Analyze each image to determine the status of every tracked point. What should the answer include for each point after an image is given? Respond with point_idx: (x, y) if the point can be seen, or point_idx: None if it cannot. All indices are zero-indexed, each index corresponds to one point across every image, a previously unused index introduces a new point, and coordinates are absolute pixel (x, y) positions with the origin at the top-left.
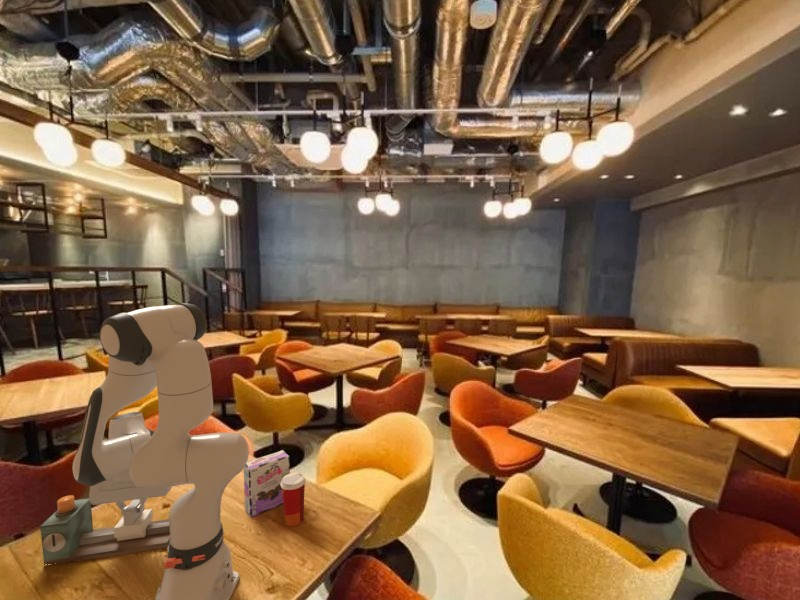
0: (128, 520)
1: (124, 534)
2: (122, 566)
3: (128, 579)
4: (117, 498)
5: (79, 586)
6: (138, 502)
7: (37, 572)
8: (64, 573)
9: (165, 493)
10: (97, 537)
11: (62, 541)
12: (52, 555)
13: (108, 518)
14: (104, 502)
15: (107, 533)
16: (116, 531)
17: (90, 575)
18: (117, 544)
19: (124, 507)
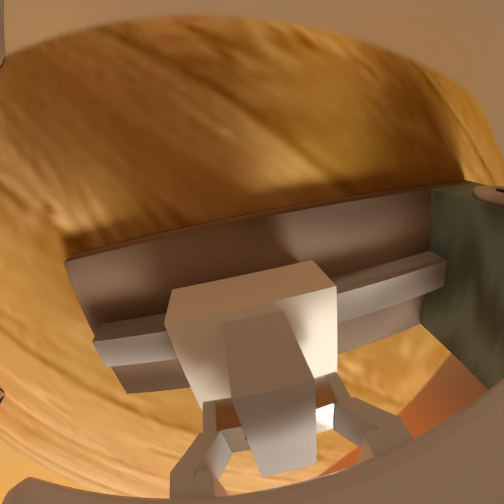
0: (257, 336)
1: (265, 276)
2: (191, 140)
3: (118, 76)
4: (415, 473)
5: (303, 51)
6: (259, 459)
7: (466, 157)
8: (402, 131)
9: (14, 487)
10: (393, 274)
11: (494, 196)
12: (474, 187)
13: (395, 373)
14: (486, 402)
15: (365, 293)
16: (313, 277)
17: (302, 99)
18: (292, 252)
19: (337, 417)
